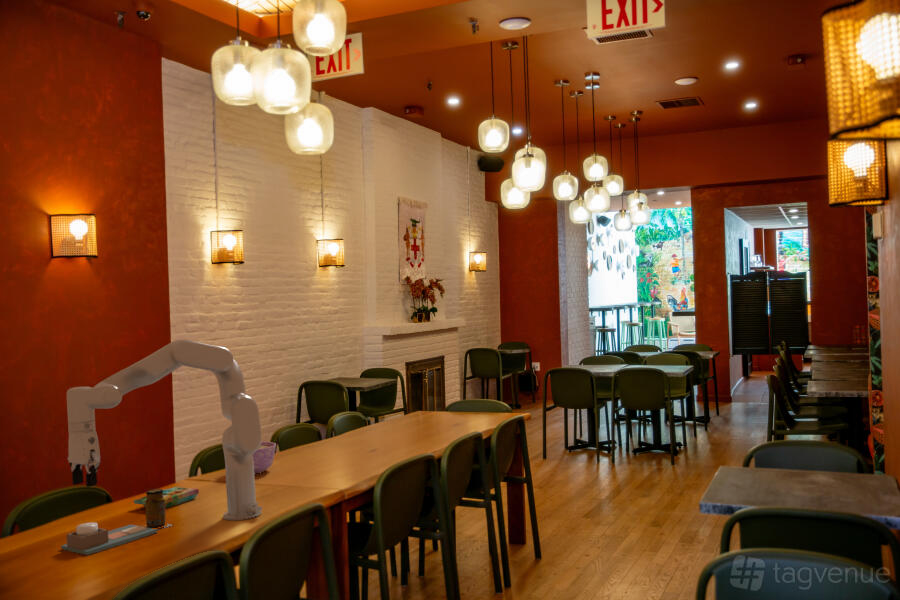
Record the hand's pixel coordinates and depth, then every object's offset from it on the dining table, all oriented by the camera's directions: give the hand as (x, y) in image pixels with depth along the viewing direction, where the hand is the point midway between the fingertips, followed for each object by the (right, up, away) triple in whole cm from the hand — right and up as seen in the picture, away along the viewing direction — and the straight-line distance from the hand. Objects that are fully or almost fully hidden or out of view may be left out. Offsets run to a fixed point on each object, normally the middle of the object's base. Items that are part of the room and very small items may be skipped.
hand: (84, 484), depth 236 cm
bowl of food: (+27, -19, +98) cm, 104 cm away
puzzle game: (+7, -20, +51) cm, 55 cm away
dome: (+1, -16, 0) cm, 16 cm away
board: (+5, -19, +6) cm, 21 cm away
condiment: (+14, -19, +20) cm, 32 cm away
